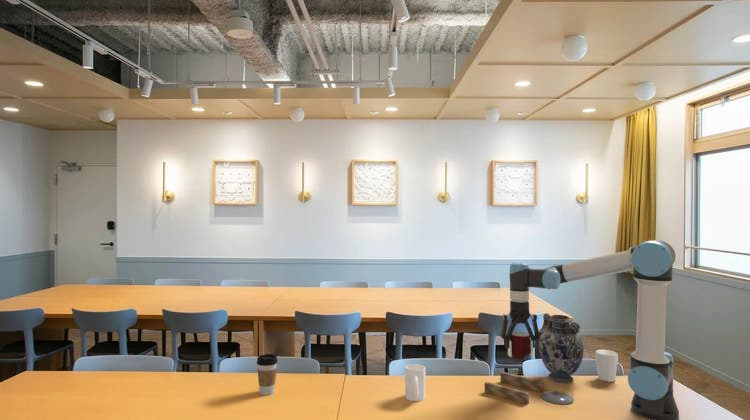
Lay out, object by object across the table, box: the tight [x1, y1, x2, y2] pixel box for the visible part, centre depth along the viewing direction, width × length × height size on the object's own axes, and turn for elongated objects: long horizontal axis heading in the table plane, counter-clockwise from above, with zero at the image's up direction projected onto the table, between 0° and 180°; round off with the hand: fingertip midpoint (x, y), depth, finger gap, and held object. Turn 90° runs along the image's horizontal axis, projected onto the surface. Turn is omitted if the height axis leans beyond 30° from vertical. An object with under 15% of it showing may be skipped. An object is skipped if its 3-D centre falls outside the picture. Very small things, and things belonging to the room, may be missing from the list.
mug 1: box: [404, 363, 426, 402], centre depth 179 cm, size 8×12×12 cm
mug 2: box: [510, 331, 531, 360], centre depth 186 cm, size 11×8×10 cm
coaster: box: [541, 390, 575, 406], centre depth 180 cm, size 12×12×1 cm
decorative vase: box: [538, 313, 584, 384], centre depth 202 cm, size 21×19×28 cm
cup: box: [594, 349, 619, 383], centre depth 202 cm, size 9×9×12 cm
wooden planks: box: [484, 371, 544, 405], centre depth 187 cm, size 18×17×4 cm
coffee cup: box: [256, 353, 278, 396], centre depth 185 cm, size 8×8×15 cm
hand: (520, 355), depth 186 cm, fingers closed on mug 2, 8 cm apart
